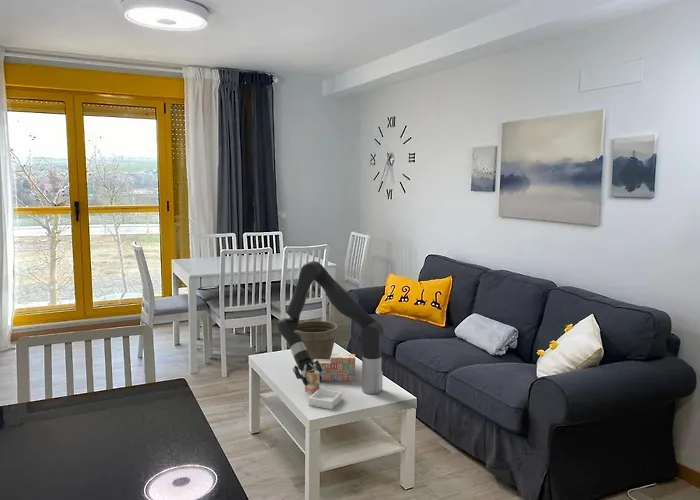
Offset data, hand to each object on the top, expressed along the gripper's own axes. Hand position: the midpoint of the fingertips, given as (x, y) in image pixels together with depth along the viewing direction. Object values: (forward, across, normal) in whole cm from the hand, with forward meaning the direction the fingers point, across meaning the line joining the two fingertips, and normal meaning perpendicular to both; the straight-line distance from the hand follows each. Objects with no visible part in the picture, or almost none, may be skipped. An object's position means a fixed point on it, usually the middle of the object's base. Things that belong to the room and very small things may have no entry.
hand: (313, 383), depth 264 cm
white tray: (+12, -2, -6) cm, 14 cm away
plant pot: (-19, +23, +26) cm, 40 cm away
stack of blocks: (-3, +19, +10) cm, 21 cm away
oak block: (+2, 0, +4) cm, 5 cm away
